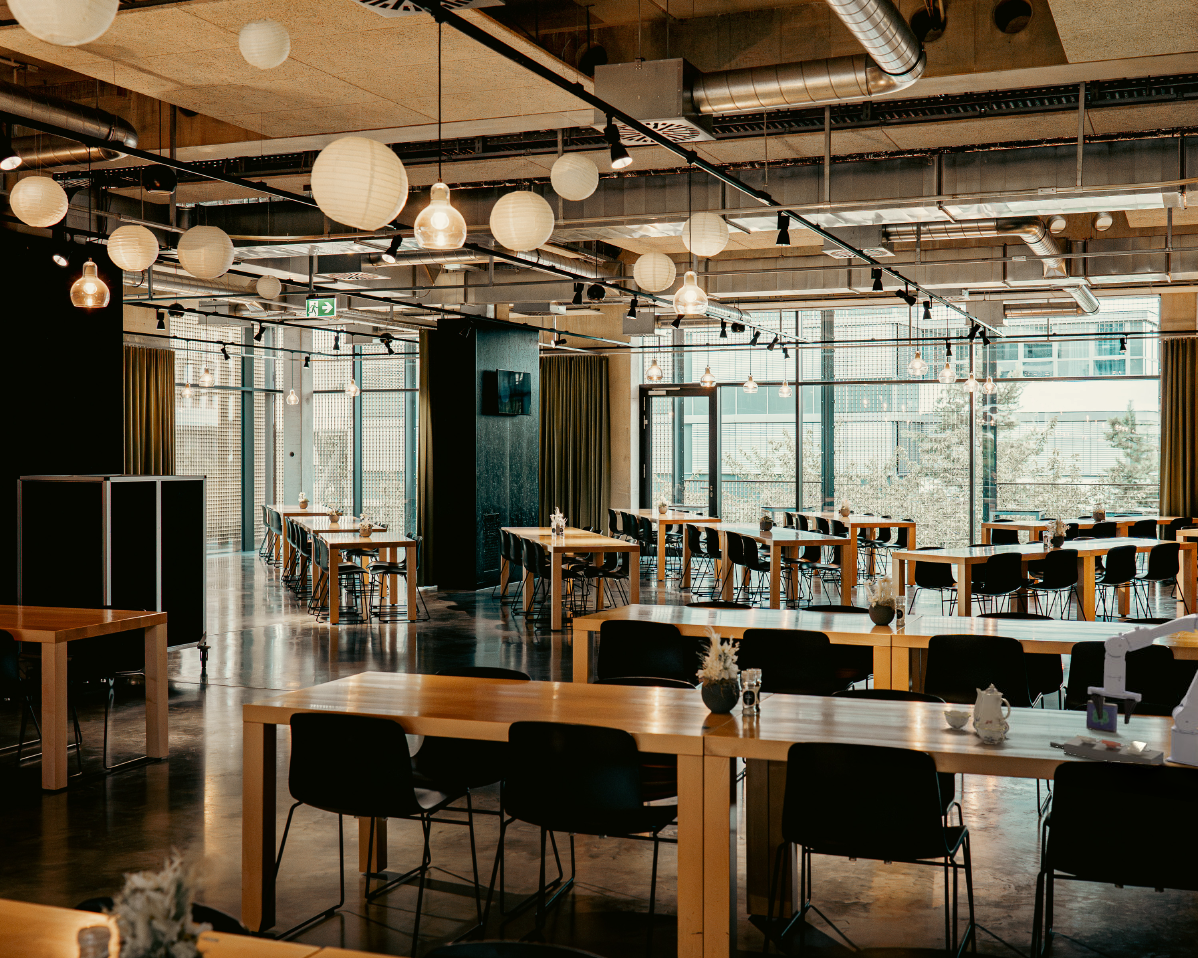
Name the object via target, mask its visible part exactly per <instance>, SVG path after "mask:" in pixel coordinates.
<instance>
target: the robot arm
mask: <svg viewBox="0 0 1198 958" xmlns="http://www.w3.org/2000/svg"><path fill="white" fill-rule="evenodd" d="M1195 630H1197V632H1198V613H1192V614H1188V615H1187V614H1186V615H1184V616H1181V617H1178V618H1176V619H1172V620H1170V621H1167V622H1165V623H1162V624H1159V625H1157V626H1156V625H1155V626H1154V627H1151V628H1149V627H1146V626H1144V625H1143V626H1139V625H1136V626H1134V628H1133V629H1131V630H1129V631H1125V632H1122V631H1120V632H1118V633H1117V635H1116V634H1113V635H1110V636H1108V637H1107V638H1106V639H1105V642H1104V644H1103V646H1104V648H1105V653H1104V658H1105V659H1104V665H1103V666H1104V669H1103V671H1104V673H1103V687H1095V686H1088V687H1087V694H1088V695H1091V696H1090V701H1092V702H1093V704H1094V706H1095V708H1096V712H1097V716H1098V720H1101V719H1103V701H1105V699H1104V698H1105V697H1109V698H1116V699H1124V701H1123V705H1124V718H1123V719H1124V721H1123V722H1124V723H1123V724H1124V725H1129V724H1130V720H1131V717H1132V714H1133V712H1134V710H1135V707H1136V706H1137V704H1138V703H1139V702H1141V701H1142V694H1141V693H1136V692H1131V691H1126V668H1127V667H1126V663H1127V662H1126V660H1125V659H1126V653H1127V652H1132V651H1133V652H1134V651H1136V650H1139V649H1142V648H1146V647H1149V646H1151V645H1153V644H1154V641H1155V640H1156V639H1159V638H1163V637H1166V636H1169V635H1172V634H1177V633H1179V632H1186V633H1187V632H1188V633H1193V634H1195V633H1196V631H1195ZM1171 716H1172V720H1173V722H1174V724H1173V726H1170V727H1171V729H1170V756H1168V757H1166V758H1165V761H1168V762H1173V763H1178V764H1185V765H1189V766H1195V767H1198V670H1196V673H1195V675H1194V678H1193V679H1192V682H1191V683H1190V686H1189V687H1188V690H1187V692H1186V695H1185V696H1184V697H1183V698H1182V699H1181V702H1180V704H1179V705H1177V706H1176V707H1174V708H1173V710H1172V713H1171Z"/></svg>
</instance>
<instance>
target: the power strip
mask: <svg viewBox="0 0 1198 958" xmlns="http://www.w3.org/2000/svg"><path fill="white" fill-rule="evenodd" d="M1050 745H1052V746H1051V747H1054V746H1058V747H1057V748H1059V747H1063V748H1062V749H1063V753H1064V752H1066V753H1071V754H1076V755H1079V756H1078V757H1081V756H1085V757H1084V758H1086V757H1087V759H1091V758H1092V760H1095V761H1096V760H1098V761H1101V760H1107V761H1120V762H1133V763H1142V764H1160V765H1161V764H1163V763H1164V759H1165V758H1164V754H1165V753H1164V751H1160V750H1155V749H1150V748H1147V747H1146V748H1145V750H1144V751H1143V753H1142V754H1141V755H1137V754H1132V753H1127V749H1128V747H1129V746H1130V745H1128V744H1124V743H1121V747H1119V746H1117V747H1116V748H1113V747H1108V746H1105V745H1106V744H1103V743H1102V739H1101V740H1100V739H1096V742H1091V743H1086V742H1081V739H1077V736H1076V737H1074V738H1072V739H1070V740H1068V741H1066V742H1063V743H1058V742H1054V741H1050V742H1049V746H1050ZM1076 755H1075V756H1076ZM1107 761H1106V762H1107Z"/></svg>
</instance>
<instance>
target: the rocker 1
mask: <svg viewBox="0 0 1198 958" xmlns="http://www.w3.org/2000/svg"><path fill="white" fill-rule="evenodd" d="M1076 737H1077V739H1081V742H1086V743H1091V742H1096V740H1097V739H1096V738H1093V737H1090V736H1085V735H1079V734H1078V735H1076Z"/></svg>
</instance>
